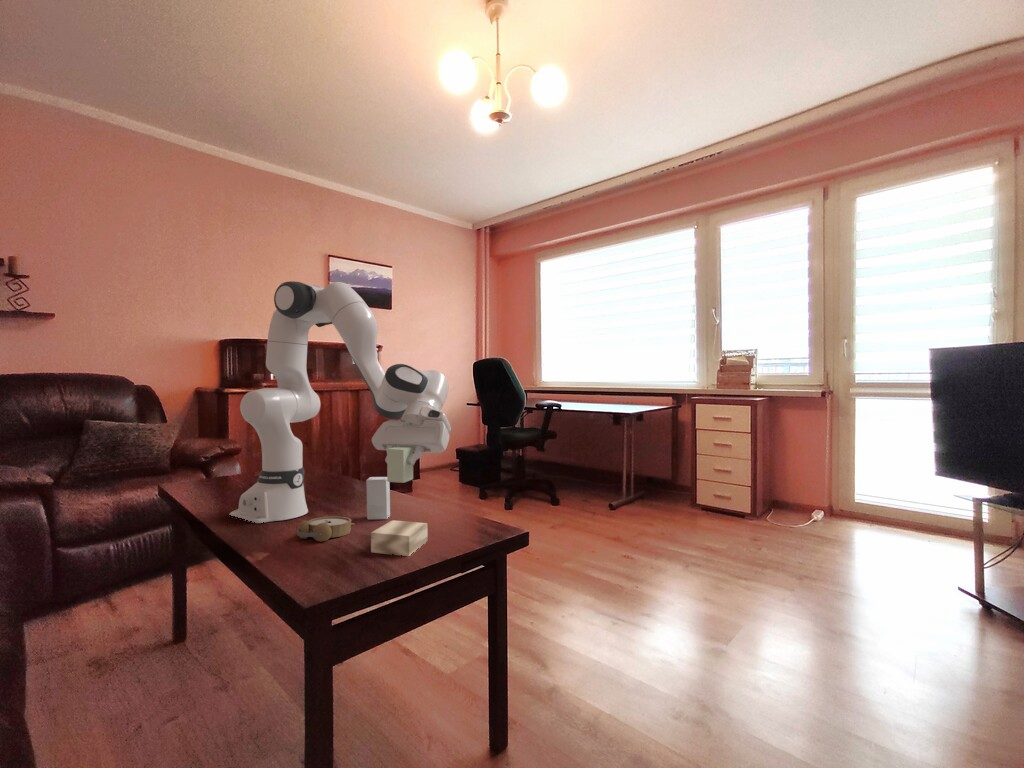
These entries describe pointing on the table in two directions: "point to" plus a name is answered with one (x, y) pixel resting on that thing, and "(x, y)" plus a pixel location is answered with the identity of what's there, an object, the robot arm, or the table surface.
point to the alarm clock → (324, 528)
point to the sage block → (399, 464)
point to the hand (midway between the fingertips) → (399, 463)
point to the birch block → (399, 537)
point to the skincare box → (378, 498)
